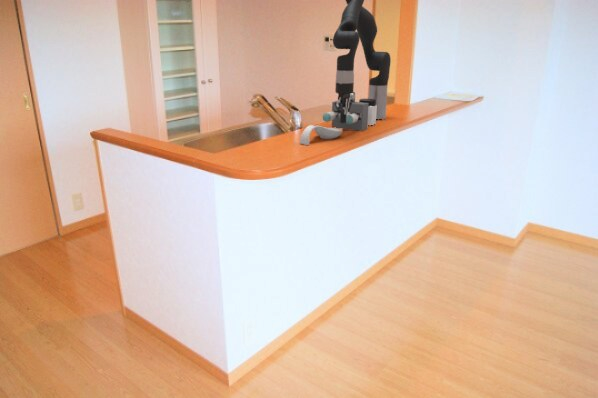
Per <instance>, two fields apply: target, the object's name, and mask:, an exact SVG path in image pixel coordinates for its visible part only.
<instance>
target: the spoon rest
mask: <svg viewBox="0 0 598 398" xmlns="http://www.w3.org/2000/svg"><path fill="white" fill-rule="evenodd" d="M313 130H314V131H315V133H316V134H317V136H318V137H319V138H320V139H323V140H334V139H336V138H338V137H340V136H341V134H342V132H343V131H344V129H338V128H332V127H324V126H321V125H313V124H310V125H307V127H305V128H304V130H303V131H302V133H301V134H300V138H299V144H300V145H304V146H310V135H311V133H312V132H313Z"/></svg>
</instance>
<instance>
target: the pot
mask: <svg viewBox="0 0 598 398" xmlns="http://www.w3.org/2000/svg"><path fill="white" fill-rule="evenodd" d="M350 99H351V100H353V102H352V103H354V102H356V92H355V91H353V93H352V94H350Z"/></svg>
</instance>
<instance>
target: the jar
mask: <svg viewBox="0 0 598 398" xmlns="http://www.w3.org/2000/svg"><path fill="white" fill-rule="evenodd" d="M358 102H362V103H369V104H368V124H367V125H373V126H375V125H374V124H376V125H377V120H376V114H377V105H376V99H368V98H360V99H359V100H358ZM360 115H361V114H360ZM360 118H361V117H360Z"/></svg>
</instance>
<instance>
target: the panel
mask: <svg viewBox="0 0 598 398" xmlns="http://www.w3.org/2000/svg"><path fill="white" fill-rule="evenodd" d="M337 101H338V100H334V101H332V104H331V109H332V110H331V111H333V112H335V113H336V112H337V109H336V107H335V102H337ZM368 104H369V103H362V102H359V101H355V102H354V103H352V105H351V108H350V111H349V112H350V114H353V113H355V114H357V115H358V114H361V118H358V120H357V122H355V123H352V124H347V123H340V121H339V120H338V116H336V118H335V119H334V120H332V121H331V128H332V127H336V128H337V129H338V128H343V129H342V130H347V129H351V130H350V131H356V130H359V131H358V132H363V130H364V131H365V129H366V130H368V126H367V124H368Z"/></svg>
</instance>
